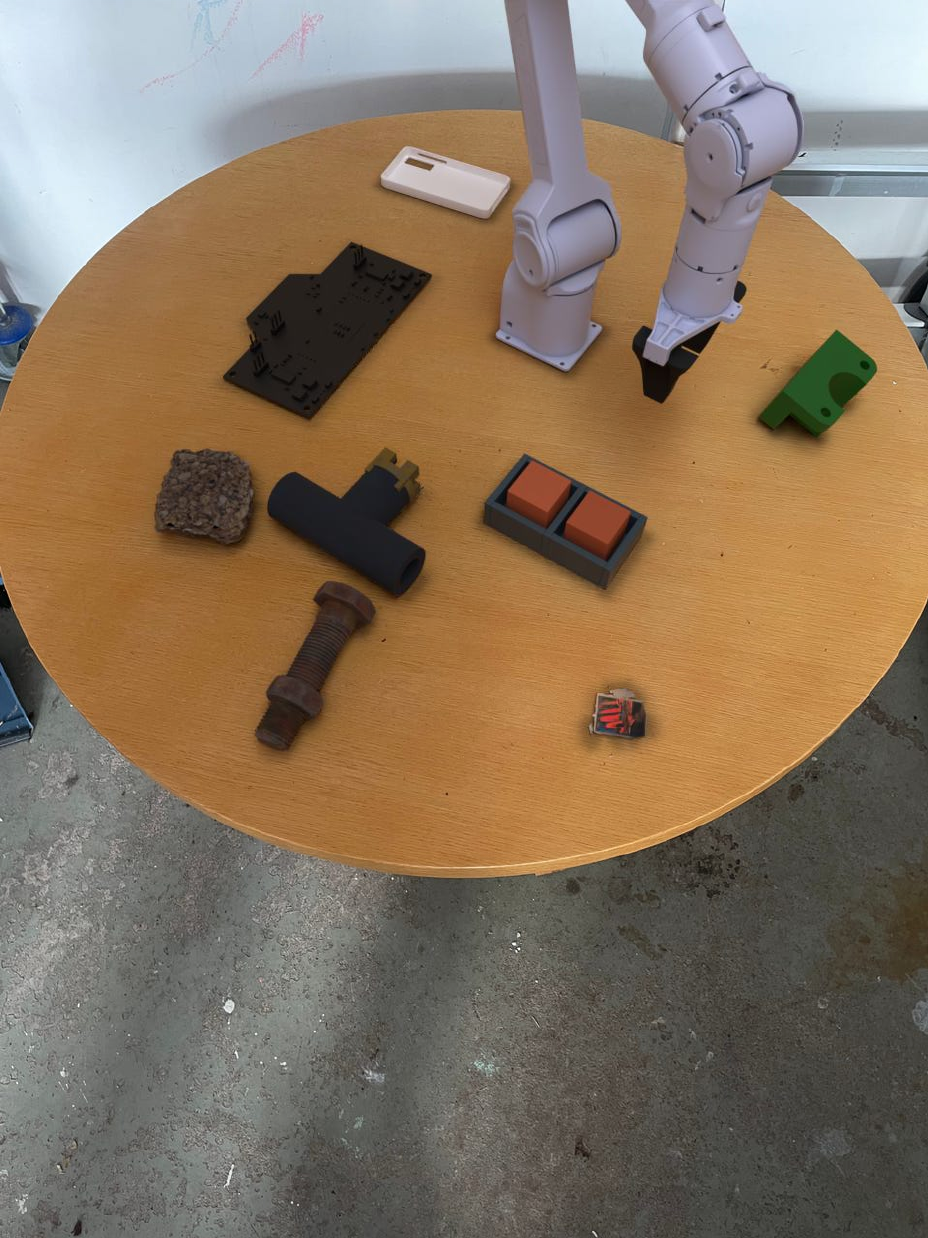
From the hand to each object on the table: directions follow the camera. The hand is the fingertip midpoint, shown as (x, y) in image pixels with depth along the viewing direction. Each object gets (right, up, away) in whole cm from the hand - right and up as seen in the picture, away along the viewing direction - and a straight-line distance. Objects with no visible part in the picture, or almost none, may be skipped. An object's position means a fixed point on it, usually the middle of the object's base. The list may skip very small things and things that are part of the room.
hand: (673, 372), depth 82 cm
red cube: (-7, -16, +1) cm, 18 cm away
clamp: (+17, -1, +10) cm, 20 cm away
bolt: (-33, -29, -5) cm, 44 cm away
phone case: (-22, +31, +28) cm, 47 cm away
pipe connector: (-29, -14, +3) cm, 33 cm away
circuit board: (-36, +10, +16) cm, 41 cm away
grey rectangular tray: (-10, -15, +3) cm, 18 cm away
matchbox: (-6, -32, -7) cm, 33 cm away
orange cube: (-13, -13, +3) cm, 19 cm away
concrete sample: (-45, -13, +4) cm, 47 cm away
